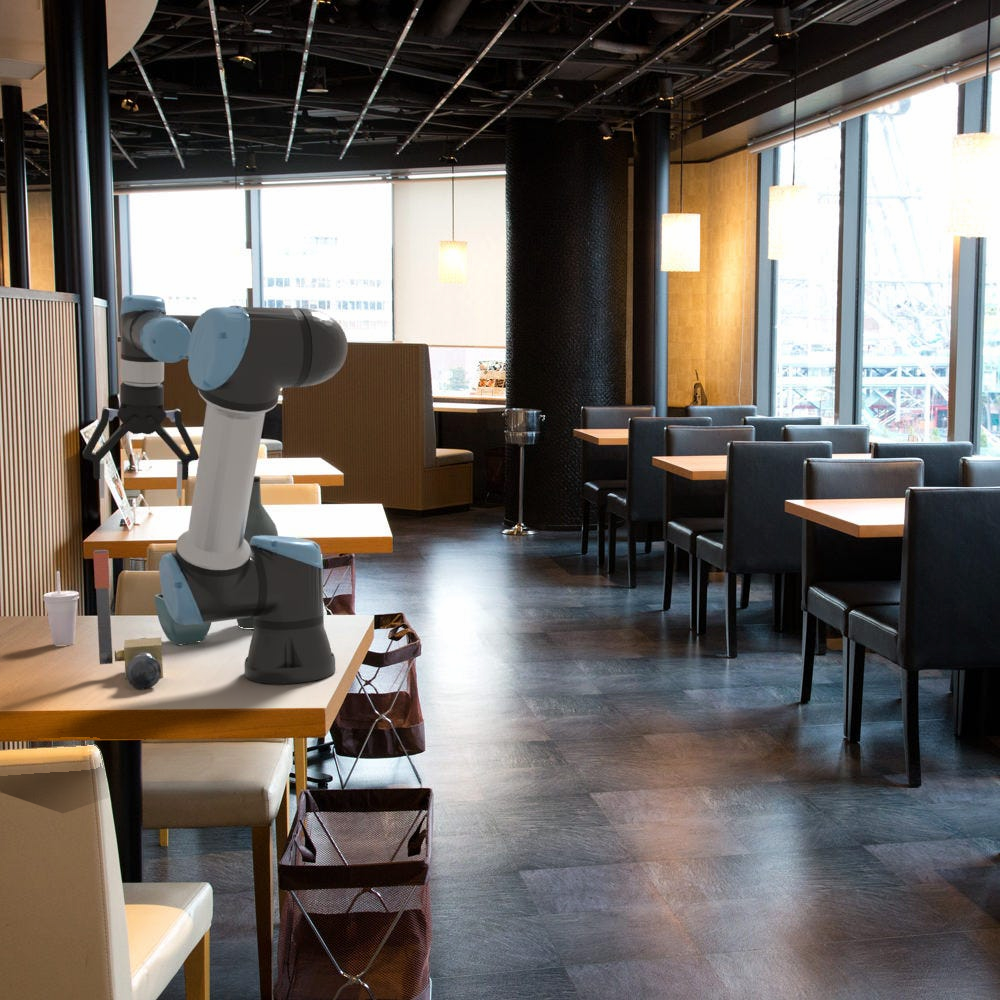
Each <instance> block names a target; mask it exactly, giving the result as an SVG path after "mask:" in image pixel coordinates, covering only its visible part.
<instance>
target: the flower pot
mask: <svg viewBox="0 0 1000 1000" xmlns="http://www.w3.org/2000/svg"><path fill="white" fill-rule="evenodd" d="M154 602H155V607H156V614H157V617H158V622H159V624H160V628H161V629H162V632H163V633H164V635H165V636H166V638H167V639H168V641H169V642H171V641H172V643H173V642H174V643H173V644H175V645H176V644H182V645H185V644H184V643H189V644H191V643H190V642H195V643H199V642H198V641H202V642H203V641H204V640H205V639H206V637H207V635H208V633H209V631H210V629H211V625H212V622H210V623H203V625H200V624H193V625H181V624H178V623H177V622H175V621H174V620H173V619H172V617H171V616H170V614H169V612H168V610H167V607H166V604H165V601H164V598H163V594H162V593H160V594H155V595H154Z"/></svg>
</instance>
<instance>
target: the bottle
mask: <svg viewBox="0 0 1000 1000" xmlns="http://www.w3.org/2000/svg"><path fill="white" fill-rule="evenodd" d="M253 536H279V533H278V530H277V525H276V524H275V522H274V520H273V519H272V518H271V516H270V514H269V513H268V511H267V510H266V509H265V507H264V506H263V504H262V494H261V476H256V475H254V481H253V487H252V492H251V498H250V504H249V510H248V516H247V522H246V527H245V533H244V539H245V540H246V541H247V542H248V544H249V545H250V541H251V538H252V537H253ZM250 546H251V545H250ZM236 622H237V626H238V627H239V626H240V627H243V628H254V617H248V618H241V619H236Z"/></svg>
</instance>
